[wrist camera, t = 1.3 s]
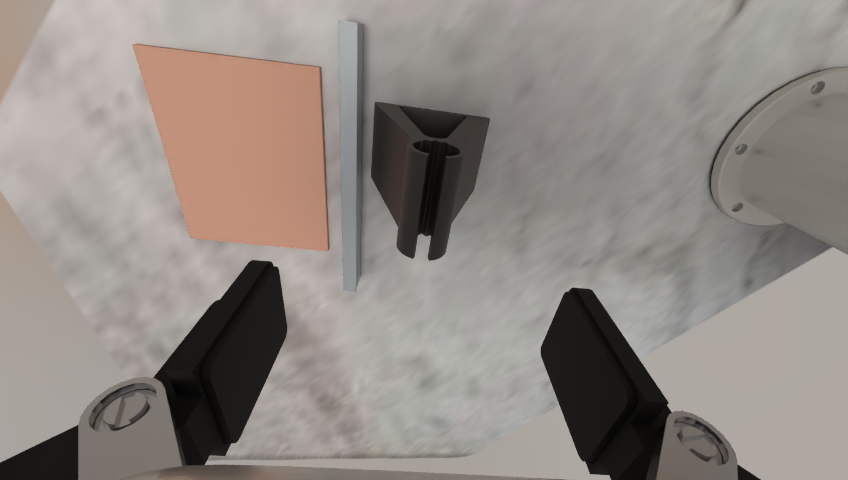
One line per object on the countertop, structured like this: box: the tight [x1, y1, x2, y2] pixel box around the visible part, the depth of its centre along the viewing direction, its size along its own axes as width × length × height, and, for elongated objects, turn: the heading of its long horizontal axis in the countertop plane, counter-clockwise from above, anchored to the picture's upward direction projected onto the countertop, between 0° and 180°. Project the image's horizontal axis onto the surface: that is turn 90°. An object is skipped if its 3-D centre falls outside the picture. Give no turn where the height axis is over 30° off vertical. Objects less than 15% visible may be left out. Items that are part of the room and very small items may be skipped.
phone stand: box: [371, 102, 490, 261], centre depth 22 cm, size 9×6×12 cm, turn 82°
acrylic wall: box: [338, 20, 364, 292], centre depth 27 cm, size 1×22×2 cm, turn 174°
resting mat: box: [132, 44, 329, 251], centre depth 28 cm, size 13×16×1 cm
